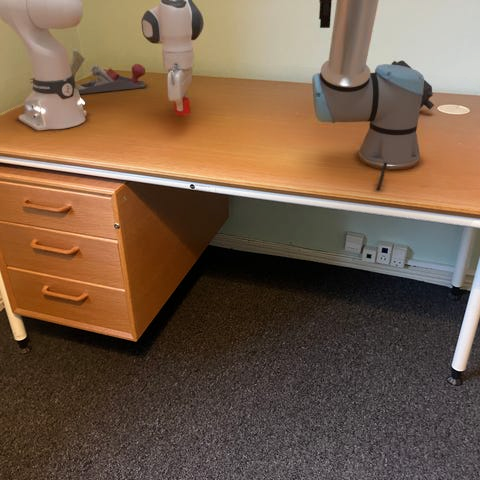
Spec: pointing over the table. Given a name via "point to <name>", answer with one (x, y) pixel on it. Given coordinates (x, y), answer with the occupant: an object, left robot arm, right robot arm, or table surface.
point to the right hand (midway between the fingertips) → (324, 23)
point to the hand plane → (106, 77)
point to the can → (185, 104)
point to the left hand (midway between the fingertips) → (182, 107)
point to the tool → (426, 89)
